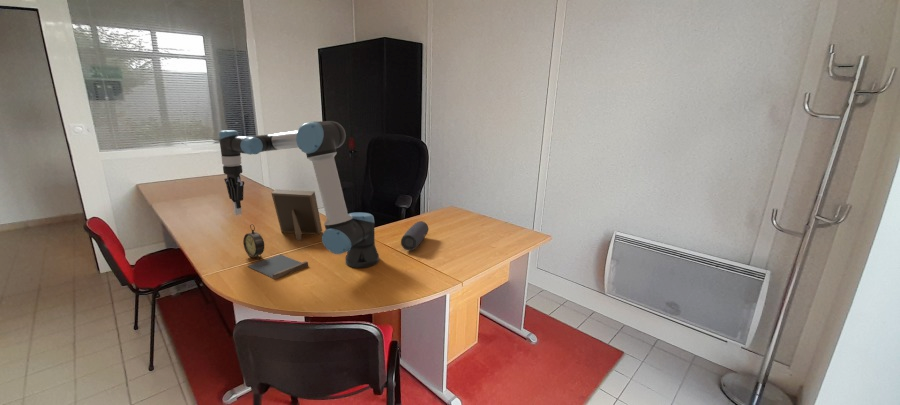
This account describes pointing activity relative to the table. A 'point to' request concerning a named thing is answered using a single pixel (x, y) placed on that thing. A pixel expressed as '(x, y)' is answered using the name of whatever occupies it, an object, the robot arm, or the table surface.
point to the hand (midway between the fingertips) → (238, 214)
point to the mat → (273, 265)
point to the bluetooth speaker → (414, 235)
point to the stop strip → (290, 270)
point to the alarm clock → (253, 243)
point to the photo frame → (297, 212)
